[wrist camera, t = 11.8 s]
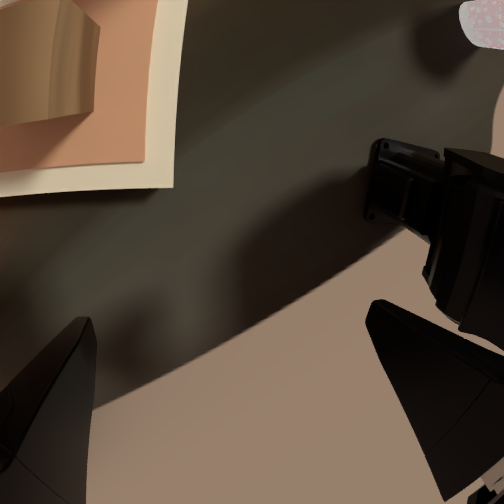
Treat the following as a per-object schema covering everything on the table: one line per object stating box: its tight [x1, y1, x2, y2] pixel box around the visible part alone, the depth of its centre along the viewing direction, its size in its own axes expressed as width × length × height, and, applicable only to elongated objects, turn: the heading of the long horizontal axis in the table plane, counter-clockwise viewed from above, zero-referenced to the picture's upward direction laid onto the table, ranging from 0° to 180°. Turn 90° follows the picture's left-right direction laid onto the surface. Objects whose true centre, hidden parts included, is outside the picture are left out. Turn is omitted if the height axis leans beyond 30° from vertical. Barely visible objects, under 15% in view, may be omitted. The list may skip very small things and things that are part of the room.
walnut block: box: [0, 0, 101, 128], centre depth 9 cm, size 4×4×6 cm
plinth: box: [0, 0, 188, 197], centre depth 12 cm, size 13×13×3 cm
